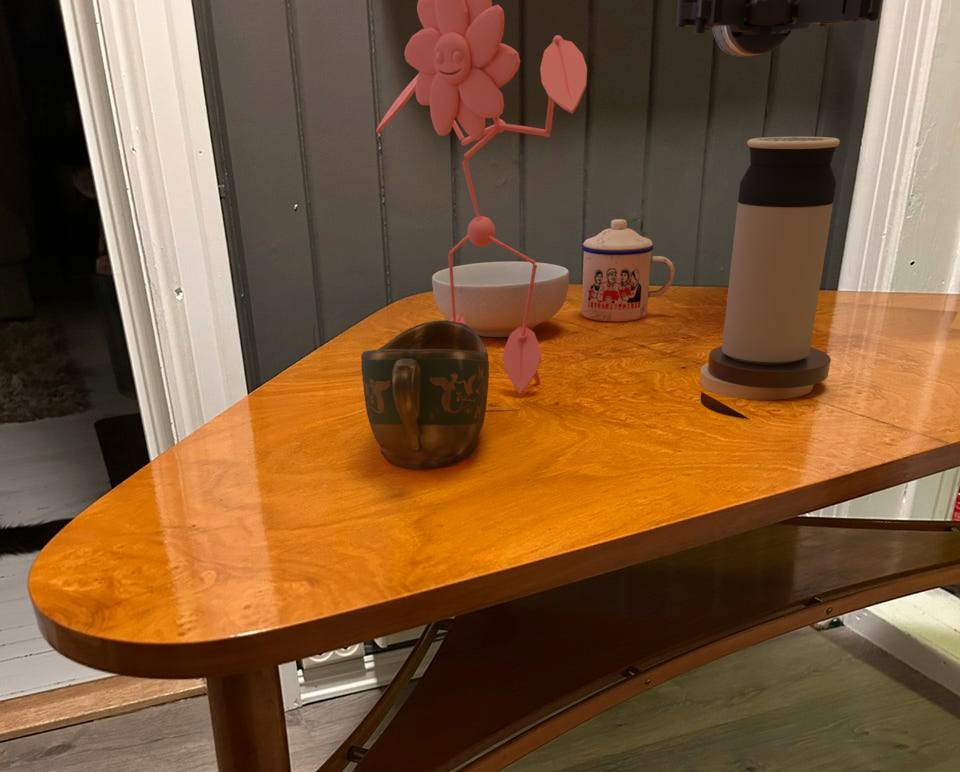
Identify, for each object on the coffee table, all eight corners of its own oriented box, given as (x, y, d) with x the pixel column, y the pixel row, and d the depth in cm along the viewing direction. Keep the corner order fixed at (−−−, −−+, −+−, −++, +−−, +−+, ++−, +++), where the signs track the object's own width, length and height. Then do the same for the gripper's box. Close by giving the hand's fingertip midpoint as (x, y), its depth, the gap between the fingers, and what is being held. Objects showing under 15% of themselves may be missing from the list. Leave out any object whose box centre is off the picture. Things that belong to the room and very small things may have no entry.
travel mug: (797, 370, 84) (832, 142, 74) (710, 360, 87) (733, 141, 78) (816, 349, 89) (851, 136, 80) (734, 341, 93) (758, 136, 84)
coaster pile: (779, 381, 96) (785, 336, 94) (846, 413, 87) (855, 364, 85) (678, 392, 94) (682, 347, 91) (736, 427, 84) (742, 377, 82)
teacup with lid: (578, 322, 121) (582, 225, 115) (580, 307, 129) (583, 215, 123) (672, 323, 120) (681, 224, 114) (669, 308, 128) (676, 215, 122)
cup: (295, 467, 78) (279, 344, 73) (434, 404, 92) (429, 297, 87) (420, 497, 72) (412, 364, 66) (549, 425, 86) (550, 310, 81)
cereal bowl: (513, 310, 129) (512, 255, 125) (595, 331, 117) (597, 271, 113) (409, 329, 120) (405, 271, 116) (486, 354, 108) (485, 290, 105)
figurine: (425, 355, 108) (406, -11, 90) (608, 395, 94) (629, -35, 75) (323, 385, 99) (279, -18, 81) (509, 434, 84) (506, -47, 66)
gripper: (650, -20, 106) (661, -40, 88) (877, -29, 104) (937, -52, 86) (646, 58, 110) (656, 53, 92) (865, 50, 108) (919, 45, 90)
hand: (791, 2), depth 89 cm, fingers open, 13 cm apart
